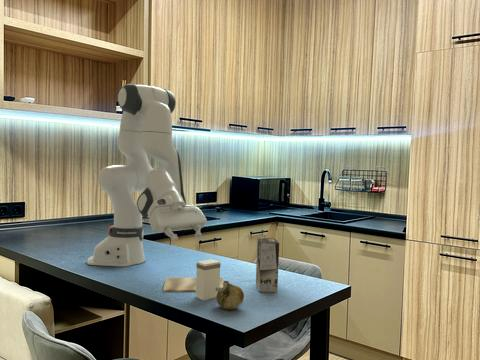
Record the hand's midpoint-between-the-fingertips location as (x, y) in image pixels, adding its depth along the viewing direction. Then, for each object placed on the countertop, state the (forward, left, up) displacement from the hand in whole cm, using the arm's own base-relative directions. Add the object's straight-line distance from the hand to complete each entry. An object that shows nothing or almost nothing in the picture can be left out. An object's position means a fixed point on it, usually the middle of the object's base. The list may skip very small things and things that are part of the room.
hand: (187, 238), depth 141 cm
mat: (+3, +2, -16) cm, 16 cm away
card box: (+7, -10, -16) cm, 20 cm away
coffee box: (+27, -1, -16) cm, 31 cm away
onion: (+13, -20, -16) cm, 29 cm away
